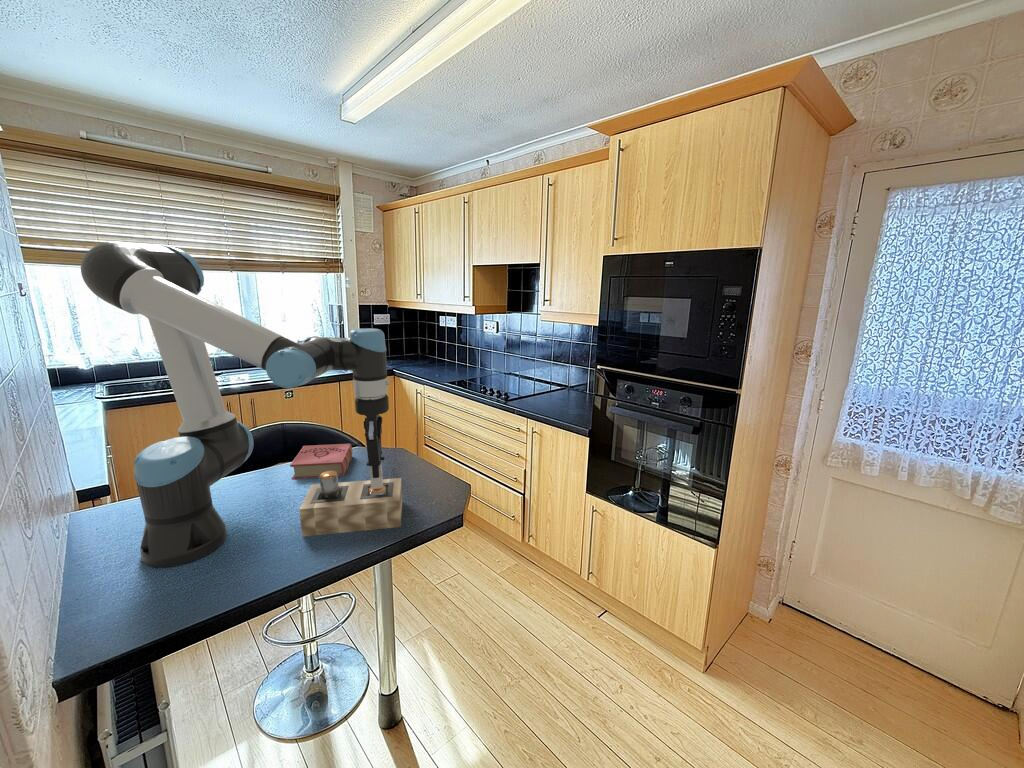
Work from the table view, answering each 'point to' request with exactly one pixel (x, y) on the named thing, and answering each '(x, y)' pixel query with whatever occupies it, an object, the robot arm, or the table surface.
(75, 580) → the table surface
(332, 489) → the peg left
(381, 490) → the peg right
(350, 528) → the block
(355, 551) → the table surface
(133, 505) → the table surface
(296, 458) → the book
